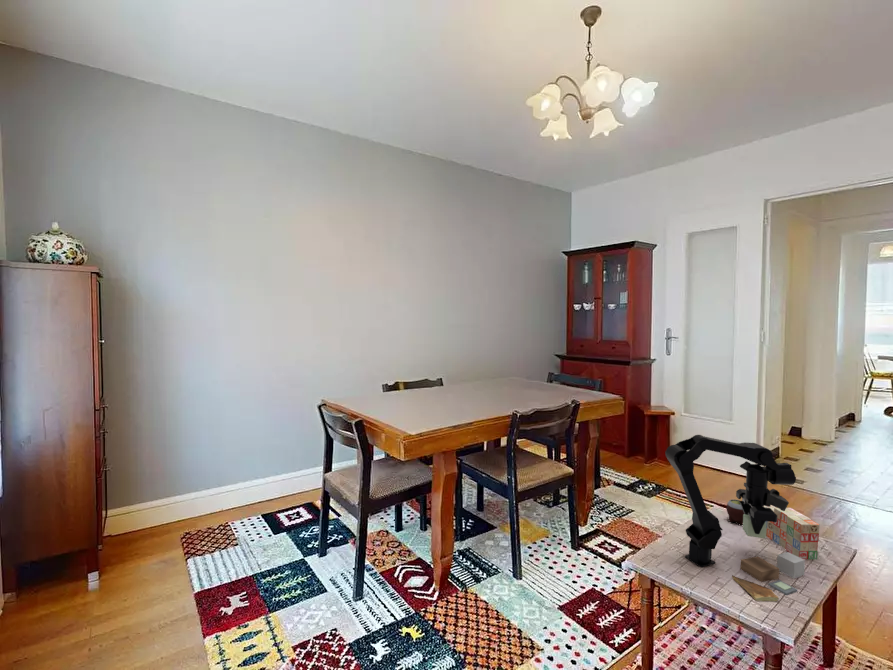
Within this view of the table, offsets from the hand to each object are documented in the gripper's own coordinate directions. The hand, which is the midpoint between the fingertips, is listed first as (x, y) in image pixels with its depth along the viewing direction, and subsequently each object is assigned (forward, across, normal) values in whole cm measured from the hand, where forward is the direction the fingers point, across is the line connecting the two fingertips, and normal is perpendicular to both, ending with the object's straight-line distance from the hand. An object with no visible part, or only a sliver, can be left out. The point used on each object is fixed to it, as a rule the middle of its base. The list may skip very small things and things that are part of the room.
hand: (754, 530), depth 145 cm
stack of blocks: (+11, +18, -15) cm, 26 cm away
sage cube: (+1, 0, 0) cm, 1 cm away
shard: (+12, -18, +5) cm, 22 cm away
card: (+11, -13, -4) cm, 17 cm away
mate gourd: (+11, +30, -4) cm, 33 cm away
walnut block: (+11, -7, 0) cm, 13 cm away
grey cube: (+11, -3, -10) cm, 15 cm away
